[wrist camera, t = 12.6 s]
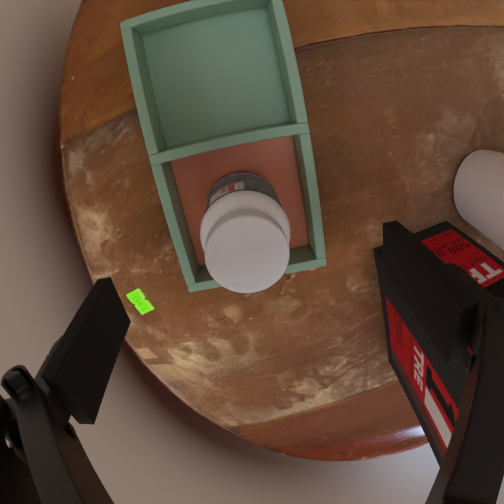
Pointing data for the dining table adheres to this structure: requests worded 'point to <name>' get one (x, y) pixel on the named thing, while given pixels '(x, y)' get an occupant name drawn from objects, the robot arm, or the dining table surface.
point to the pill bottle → (245, 233)
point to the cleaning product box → (419, 344)
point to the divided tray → (223, 118)
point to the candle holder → (482, 193)
